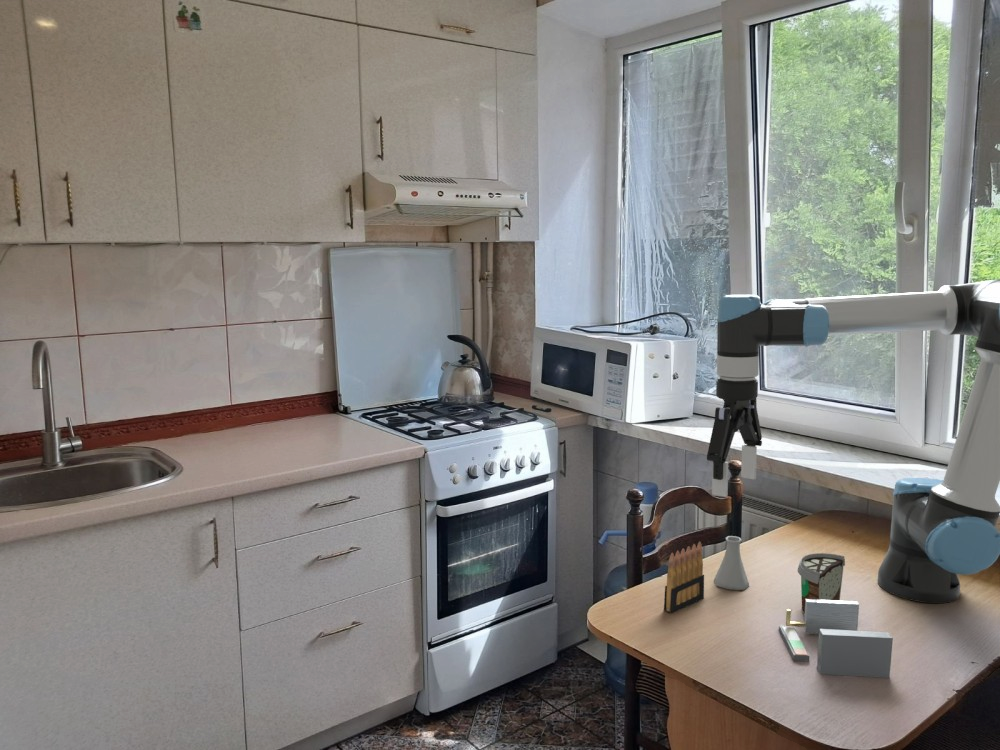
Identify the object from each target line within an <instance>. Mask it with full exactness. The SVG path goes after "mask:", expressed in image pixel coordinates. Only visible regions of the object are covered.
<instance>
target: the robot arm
mask: <svg viewBox="0 0 1000 750" xmlns="http://www.w3.org/2000/svg"><path fill="white" fill-rule="evenodd" d="M717 309H718V312H717V313H718V314H717V319H716V322H717V323H716V324H717V325H716V326H717V329H716V330H717V333H716V334H717V338H716V339H717V340H716V341H717V343H716V346H717V348H716V349H717V350H716V351H717V352H716V358H715V359H714V362H715V363H716V375H717V376H719V377H717V379H716V380H715V381H716V386H715V387H716V389H715V396H716V397H717V398H719V399H721V400H722V401H723V407H715V411H714V422H713V425H712V431H711V436H710V439H709V440H710V441H709V445H708V450H707V453H706V460H707V462H709V461H710V462H712V472H711V473H712V474H711V475H712V476H711V479H712V483H711V495H712V496H718V497H723V498H727V497H728V491H729V490H728V487H729V483H728V482H729V461H727V459H728V455H729V452H730V449H731V445H732V442H733V439H734V437H735V433H736V432H737V433H738V432H739V433H740V436H741V438H742V441H743V444H742V445H741V465H740V467H741V468H740V471H741V474H740V478H743V479H750V480H756V478H757V454H758V453H757V451H758V450H757V448H758V447H761V446H763V441H762V439H763V436H762V435H763V434H762V431H761V425H760V419H759V415H758V408H757V405H758V404H757V398H758V392H759V390H758V389H759V379H757V377H758V376H759V370H760V369H759V366H760V365H759V363H760V360H759V359H760V358H759V356H760V351H759V350H760V347H761V346H764V347H767V346H774V347H775V346H777V347H778V346H780V347H781V346H782V347H783V346H787V347H789V346H790V347H795V346H796V347H798V346H800V347H804V346H805V347H809V346H821V345H824V344H825V343H826V341H827V340H828V338H829V336H837V335H840V336H841V335H854V334H855V335H860V334H879V333H902V332H903V333H904V332H926V331H939V332H940V333H941V334H943V335H945V336H949V335H950V336H951V335H952V336H953V335H961V336H963V335H964V336H970V337H976V343H975V345H974V350H975V351H976V353H977V355H978V357H980V361H979V365H978V367H977V370H976V373H975V374H976V375H975V377H974V379H973V380H974V381H973V384H972V387H971V390H970V393H969V396H968V400H967V403H966V407H965V410H964V413H963V416H962V418H961V419H962V420H961V424H960V426H959V429H958V432H957V436H956V438H955V442H954V445H953V448H952V450H951V451H952V452H951V456H950V458H949V461H948V464H947V467H946V471H945V475H944V476H943V479H935V478H925V477H923V478H922V477H907V478H906V477H905V478H901V479H898V480H897V481H896V482H895V483H894V489H893V493H892V496H893V497H892V509H891V510H892V511H891V521H890V523H891V524H890V536H889V537H890V538H889V546H888V550H887V552H886V554H885V556H884V557H883V560H882V562H881V564H880V566H879V568H878V571H877V583H878V585H879V586H880V588H882V589H883V590H885V591H886V592H888V593H890V594H892V595H894V596H897V597H900V598H903V599H906V600H910V601H915V602H919V603H928V604H929V603H930V604H944V603H945V604H946V603H952V602H955V601H956V600H957V599H959V598H960V595H961V594H960V593H961V581H960V578H959V575H963V576H966V575H974V574H978V573H979V572H982V571H984V570H987V569H988V568H989V567H991V566H992V565H993V564H994V563H996V561H997V560H998V558H999V556H1000V531H999V530H998V528H997V527H996V526H997V522H998V519H999V517H1000V505H999V503H998V501H997V499H996V494H997V491H998V488H999V485H1000V278H998V279H997V278H996V279H991V280H983V281H977V282H971V283H963V284H954V285H953V284H952V285H943V286H941V287H940V288H939V290H937V291H923V292H922V291H921V292H917V291H916V292H903V293H900V292H899V293H887V294H885V293H883V294H867V295H866V294H865V295H849V296H847V295H846V296H833V297H832V296H830V297H828V296H827V297H814V298H813V297H812V298H797V299H793V298H792V299H783V298H773V299H768V300H767V301H765V302H763V303H761V297H760V296H759V295H757V294H726V295H723V296H721V298H720V299H719V301H718V308H717Z"/></svg>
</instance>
